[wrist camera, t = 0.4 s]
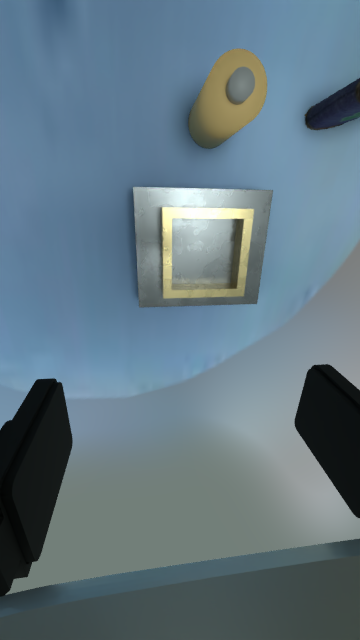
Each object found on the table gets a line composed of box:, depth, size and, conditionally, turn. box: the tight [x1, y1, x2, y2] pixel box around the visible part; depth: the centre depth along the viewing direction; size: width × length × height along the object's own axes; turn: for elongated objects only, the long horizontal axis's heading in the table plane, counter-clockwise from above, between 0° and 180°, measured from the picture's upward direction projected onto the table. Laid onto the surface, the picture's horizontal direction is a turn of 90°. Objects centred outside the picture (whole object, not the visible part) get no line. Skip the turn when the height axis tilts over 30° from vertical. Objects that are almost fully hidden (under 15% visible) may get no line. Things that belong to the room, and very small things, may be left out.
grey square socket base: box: [133, 187, 273, 307], centre depth 33 cm, size 14×16×6 cm
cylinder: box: [188, 49, 267, 149], centre depth 26 cm, size 5×5×11 cm
